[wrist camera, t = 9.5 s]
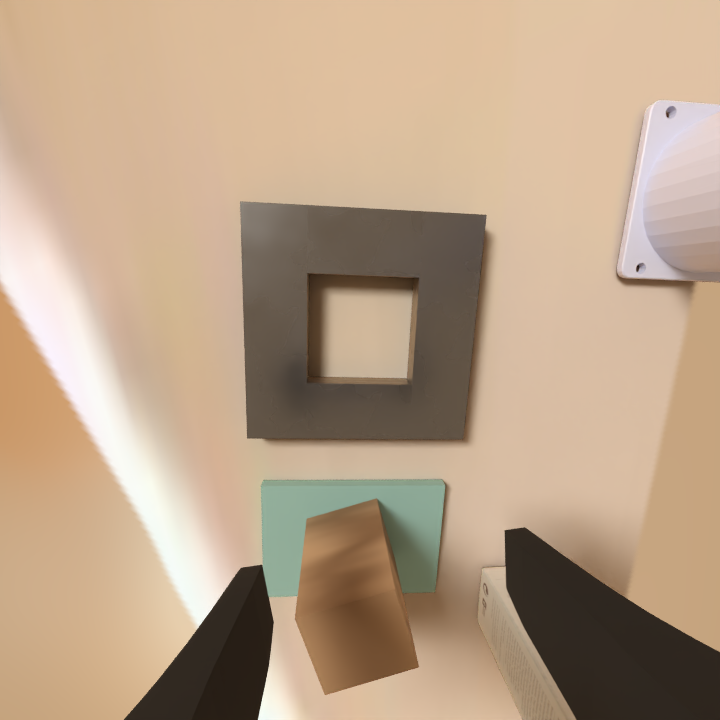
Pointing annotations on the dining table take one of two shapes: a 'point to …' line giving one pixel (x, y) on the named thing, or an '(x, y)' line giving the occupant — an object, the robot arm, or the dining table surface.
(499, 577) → the skincare box
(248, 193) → the dining table surface
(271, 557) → the mat
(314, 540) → the brown block
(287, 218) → the socket plate
